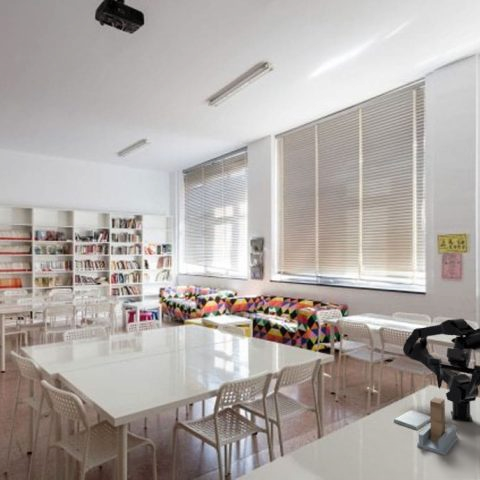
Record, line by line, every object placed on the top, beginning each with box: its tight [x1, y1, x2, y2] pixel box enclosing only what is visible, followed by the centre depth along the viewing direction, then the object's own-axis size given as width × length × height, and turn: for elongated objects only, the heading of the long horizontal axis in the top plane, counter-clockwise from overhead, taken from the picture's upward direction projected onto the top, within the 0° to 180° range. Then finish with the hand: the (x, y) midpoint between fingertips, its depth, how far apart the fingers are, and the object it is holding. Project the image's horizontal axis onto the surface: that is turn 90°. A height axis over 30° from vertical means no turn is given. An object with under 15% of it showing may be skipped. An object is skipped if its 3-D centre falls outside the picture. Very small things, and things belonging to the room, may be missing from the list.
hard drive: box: [393, 409, 431, 431], centre depth 144 cm, size 2×8×12 cm
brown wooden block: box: [429, 396, 446, 442], centre depth 128 cm, size 4×3×12 cm, turn 137°
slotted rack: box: [417, 422, 459, 456], centre depth 128 cm, size 14×8×4 cm, turn 137°
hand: (453, 391), depth 136 cm, fingers open, 9 cm apart
